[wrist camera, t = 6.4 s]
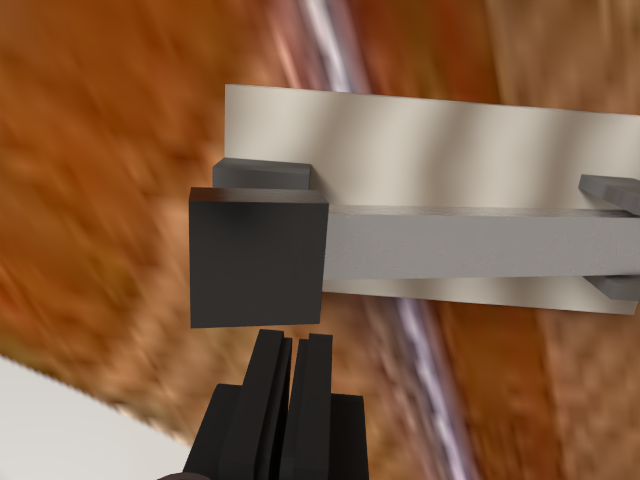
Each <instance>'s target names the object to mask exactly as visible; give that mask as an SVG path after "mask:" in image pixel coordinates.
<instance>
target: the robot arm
mask: <svg viewBox="0 0 640 480" xmlns="http://www.w3.org/2000/svg"><path fill="white" fill-rule="evenodd" d="M332 339H333V335H324V334H312V333H309V339H299V345H298V352H297V358H296V365H295V371H294V378H293V384H292V391H291V397H290V404H289V410H288V403H289V387H290V371H291V354H292V338H285V337H284V331H277V330H265V329H260V331H259V334H258V337H257V340H256V343H255V346H254V350H253V353H252V356H251V359H250V362H249V366H248V369H247V372H246V375H245V378H244V382H243V385H242V386H241V385H230V384H218V385H217V386H216V388H215V390H214V393H213V395H212V398H211V400H210V403H209V406H208V408H207V411H206V413H205V416H204V418H203V421H202V423H201V426H200V428H199V431H198V433H197V436H196V438H195V441H194V444H193V446H192V449H191V451H190V454H189V456H188V459H187V461H186V464H185V467H184V469H183V472H182V473H176V474H170V475H167V476H165V477H162V478H160V479H157V480H369V471H368V457H367V443H366V428H365V414H364V401H363V396H357V395H345V394H334V393H331V372H332Z"/></svg>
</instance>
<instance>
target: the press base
mask: <svg viewBox="0 0 640 480" xmlns="http://www.w3.org/2000/svg"><path fill="white" fill-rule="evenodd" d="M213 188H243V189H285V190H319V191H320V193H321V194H322V195H323V196H324V198H325V199H326V200H327V201H328V202H329V205H386V206H444V207H502V208H560V209H618V210H627V211H629V212H631V213H633V214H635V215H640V115H630V114H617V113H604V112H591V111H578V110H565V109H552V108H539V107H526V106H513V105H500V104H487V103H474V102H461V101H448V100H435V99H422V98H409V97H396V96H384V95H371V94H358V93H345V92H332V91H319V90H306V89H293V88H280V87H267V86H254V85H241V84H226V85H225V157H224V158H223V159H222V160H221V161H219V162H218V163H217V164H216V165H214V166H213ZM322 291H323V292H336V293H349V294H362V295H376V296H389V297H402V298H415V299H428V300H442V301H455V302H468V303H481V304H495V305H508V306H521V307H534V308H547V309H561V310H574V311H587V312H600V313H613V314H627V315H634V313H635V310H636V307H637V304H638V301H639V302H640V275H594V276H536V277H478V278H420V279H362V280H323V287H322Z"/></svg>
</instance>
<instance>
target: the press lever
mask: <svg viewBox="0 0 640 480" xmlns="http://www.w3.org/2000/svg"><path fill="white" fill-rule="evenodd" d="M189 251H190V310H191V328H216V327H243V326H270V325H297V324H319V323H320V311H321V299H322V287H323V280H362V279H420V278H478V277H536V276H594V275H640V215H635V214H633V213H631V212H629V211H627V210H618V209H560V208H502V207H444V206H386V205H329V202H328V201H327V200H326V199H325V198H324V196H323V195H322V194H321V193H320V191H319V190H285V189H243V188H201V187H191V191H190V196H189Z"/></svg>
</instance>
